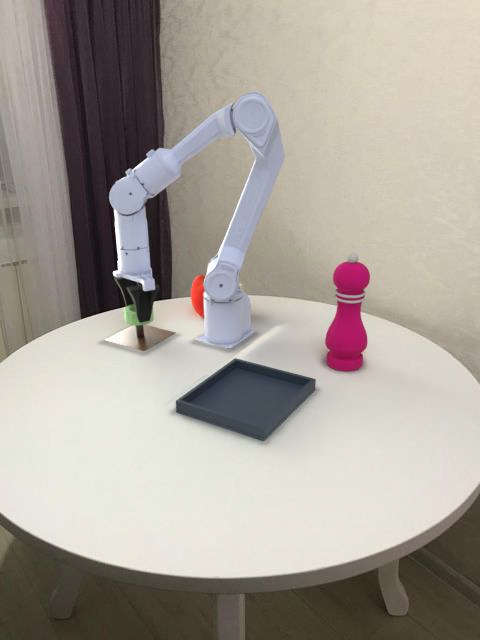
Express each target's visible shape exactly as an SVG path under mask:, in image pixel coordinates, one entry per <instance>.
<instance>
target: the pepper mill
mask: <svg viewBox="0 0 480 640" xmlns="http://www.w3.org/2000/svg"><path fill="white" fill-rule="evenodd" d="M370 280H371V273H370V270H369V268H368V267H367V266H366V265H365V264H364V263H362V262H359V255H358V254H357V253H356V252H350V253H349V254H348V255H347V261H344V262H341V263H339V264H338V265H337V266H336V268H334V271H333V274H332V282H333V284H334V286H335V287H336V289H335V290H334V293H335V294H334V299H335V300H336V312H335V315H334V318H333V319H332V321H331V322H330V325H329V327H328V329H327V331H326V334H325V339H324V344H325V346H326V348H327V350H328V351H327V353H326V364H327V366H328V367H330V369H333V370H336V371H341V372H353V371H358V370H359V369H361V368H362V367H363V365H364V355H363V352H364V351H366V349H367V347H368V333H367V330H366V327H365V325H364V322H363V320H362V304H363V302H365V300H366V297H365V296H366V294H367V293H366V291H365V289H366V288H367V287H368V286H369V284H370Z"/></svg>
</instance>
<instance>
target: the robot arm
mask: <svg viewBox="0 0 480 640" xmlns="http://www.w3.org/2000/svg"><path fill="white" fill-rule="evenodd" d="M237 131H238V132H239V133H240V135H241V136H242V137H243V138H244V139H245V140H246V141H247V142H248V145H249V147H250V150H251V151H252V154H253V157H254V161H253V164H252V166H251V168H250V172H249V173H248V176H247V179H246V182H245V184H244V186H243V189H242V192H241V195H240V197H239V200H238V202H237V205H236V208H235V210H234V212H233V215H232V218H231V220H230V222H229V226H228V228H227V230H226V233H225V235H224V238H223V240H222V243H221V245H220V247H219V249H218V252H217V253H216V255H214V256H213V258H211V259H210V260H209V262H208V264H207V268H206V274H205V275H206V277H205V279H204V290H205V292H204V294H203V295H204V317H203V321H204V322H203V325H204V326H203V327H204V333H203V334H201V335H200V336H198V337H197V338H195V341H198V342H201V343H205V344H209V345H213V346H217V347H221V348H226V349H233V348H234V347H235V346H237V345H238V344H240V343H241V342H242V341H244V340H245V339H247V338H248V337H249V336H251V335H253V334H254V333H255V332H256V331H255V330H252V303H251V299H250V297H249V295H248V294H247V293H246V292H245V291H244V290H243V289H241V288H240V279H239V278H240V275H241V274H240V273H241V270H242V267H243V264H244V261H245V257H246V254H247V251H248V249H249V246H250V244H251V241H252V240H253V237H254V234H255V232H256V229H257V227H258V225H259V222H260V219H261V218H262V215H263V212H264V209H265V207H266V205H267V202H268V200H269V198H270V196H271V193H272V191H273V189H274V186H275V184H276V181H277V178H278V176H279V174H280V172H281V168H282V166H283V164H284V161H285V150H284V146H283V141H282V140H283V139H282V135H281V134H282V133H281V129H280V124H279V118H278V116H277V114H276V113H275V111H274V109H273V107H272V105H271V103H270V102H269V100H268V99H267V98H266V97H265V96H264V95H263V94H261V93H259V92H254V91H253V92H247V93H245V94H243V95H242V96H240V98H239V99H238V100H237V101H236V103H235V101H232V102H231V103H229V104H227V105H225V106H223V107H222V108H220V109H219V110H217V111H215V112H213V113H212V114H211V115H210V116H209V117H207V118H206V119H205V120H204V121H203V122H201V124H199V125H198V126H197V127H196V128H194V129H193V130H192V131H191V132H190V133H188V134H187V135H186V136H185V137H184V138H183V139H182V140H179V142H178V143H176V144H175V145H174V146H173V147H172V148H163V147H158V148H157V149H156V150H155V149H150V150H149V151H147V153H146V154H145V156H146V158H145V159H144V160H143V161H141V162H140V163H139V164H138V165H137V166H135V167H134V168H133V169H132V168H128V169H127V170H126V171H125V175H126V176H124V177H122V178H120V179H119V180H116V181H115V183H114V184H113V185H112V187H111V188H110V191H109V193H108V194H109V195H108V199H109V204H110V205H111V207H112V208H113V213H114V228H115V240H116V251H117V259H118V260H117V270H114V271H113V272H112V274H113V279H114V281H115V283H116V284H117V286H118V287H119V289H120V291H121V294H122V297H123V300H124V304H125V307H126V306H128V305H131V304H134V305H135V310H136V314H137V318H138V321H139V322H140V323H141V322H146V321H150V319H151V314H152V308H153V309H154V307H153V306H154V303H155V300H156V298H157V296H158V293H159V291H160V285H158V283H156V282H155V278H153V268H152V267H151V256H150V242H149V241H150V240H149V229H148V227H149V226H148V220H147V211H146V210H147V209H146V205H145V204H146V203H147V201H148V199H153V198H154V197H156V196H157V195H158V194H160V193H161V192H162V191H163V190H164V189H166V188H167V187H169V186H170V185H171V184H172V183H174V182H175V181H176V180H177V179H179V178H180V177H181V175H182V166H183V165H184V164H185V163H186V162H187V161H189V160H190V159H191V158H193V157H194V156H195V155H198V153H200V152H201V151H202V150H203V149H205V148H206V147H208V146H209V145H210V144H212V143H213V142H214V141H216V140H217V139H219V138H228V137H236V134H237ZM239 288H240V289H239Z"/></svg>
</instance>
